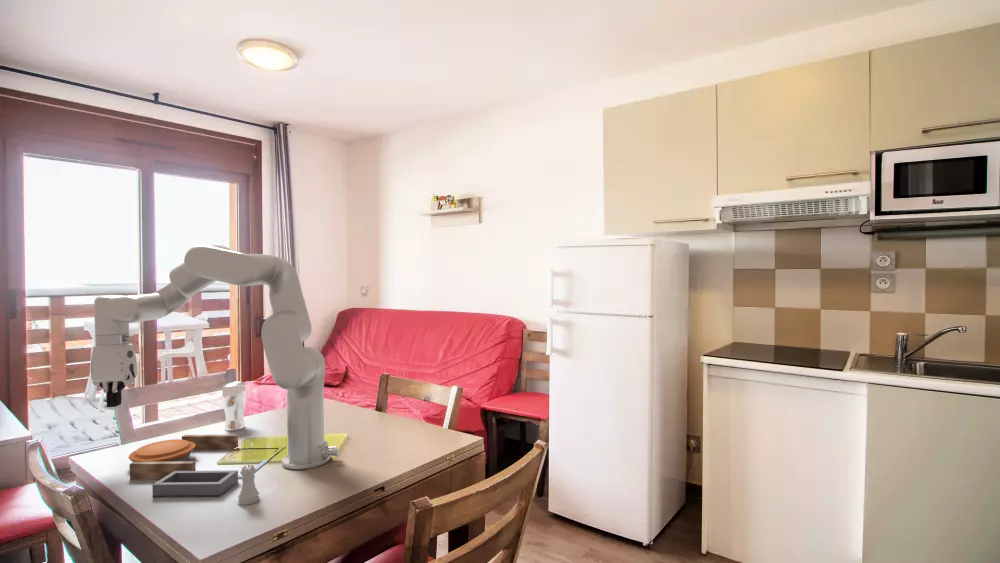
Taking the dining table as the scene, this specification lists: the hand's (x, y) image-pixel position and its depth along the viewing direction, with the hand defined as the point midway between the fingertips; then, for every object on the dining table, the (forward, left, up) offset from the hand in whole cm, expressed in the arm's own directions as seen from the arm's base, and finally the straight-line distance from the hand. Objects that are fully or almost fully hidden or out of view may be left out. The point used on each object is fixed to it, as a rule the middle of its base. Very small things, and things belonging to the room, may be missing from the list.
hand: (114, 405), depth 140 cm
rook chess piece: (-49, +24, -16) cm, 57 cm away
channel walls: (-20, 0, -16) cm, 26 cm away
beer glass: (-17, -30, -16) cm, 38 cm away
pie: (-13, 0, -16) cm, 21 cm away
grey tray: (-33, +18, -16) cm, 41 cm away
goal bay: (-34, 0, -16) cm, 38 cm away
